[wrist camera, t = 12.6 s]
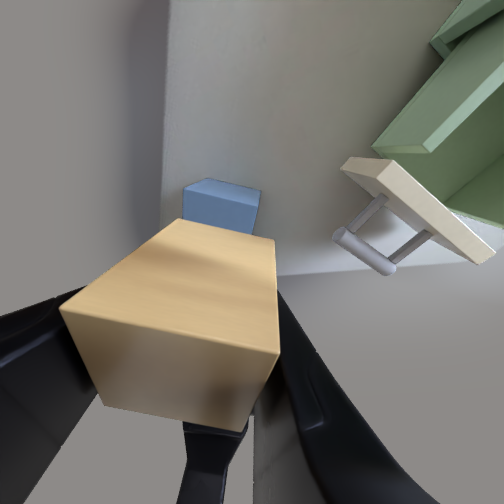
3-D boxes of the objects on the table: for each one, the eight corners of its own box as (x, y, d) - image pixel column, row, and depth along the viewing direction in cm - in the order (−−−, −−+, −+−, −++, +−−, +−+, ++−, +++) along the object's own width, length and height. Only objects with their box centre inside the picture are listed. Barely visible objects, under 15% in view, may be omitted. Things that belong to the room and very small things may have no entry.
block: (254, 307, 10) (242, 433, 5) (177, 291, 10) (102, 406, 5) (274, 239, 8) (281, 354, 3) (177, 217, 8) (54, 307, 3)
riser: (250, 239, 21) (243, 267, 16) (203, 228, 21) (181, 253, 16) (261, 190, 19) (258, 206, 13) (207, 177, 18) (182, 188, 13)
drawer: (376, 263, 20) (415, 304, 15) (304, 211, 18) (319, 237, 13) (584, 95, 13) (821, 53, 7) (500, -26, 11) (747, -215, 5)
